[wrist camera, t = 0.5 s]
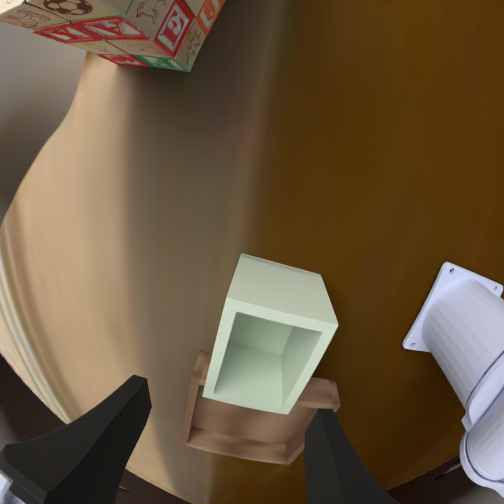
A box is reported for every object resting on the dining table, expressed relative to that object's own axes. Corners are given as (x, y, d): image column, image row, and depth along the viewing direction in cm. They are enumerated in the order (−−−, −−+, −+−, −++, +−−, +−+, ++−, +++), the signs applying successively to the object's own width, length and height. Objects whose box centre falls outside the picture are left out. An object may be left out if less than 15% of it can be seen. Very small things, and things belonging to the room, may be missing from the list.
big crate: (335, 380, 21) (340, 405, 18) (289, 444, 25) (289, 464, 22) (200, 351, 21) (191, 376, 18) (186, 423, 25) (180, 443, 22)
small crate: (320, 274, 18) (338, 324, 12) (286, 356, 20) (287, 414, 15) (241, 252, 18) (226, 297, 12) (218, 340, 20) (202, 396, 15)
